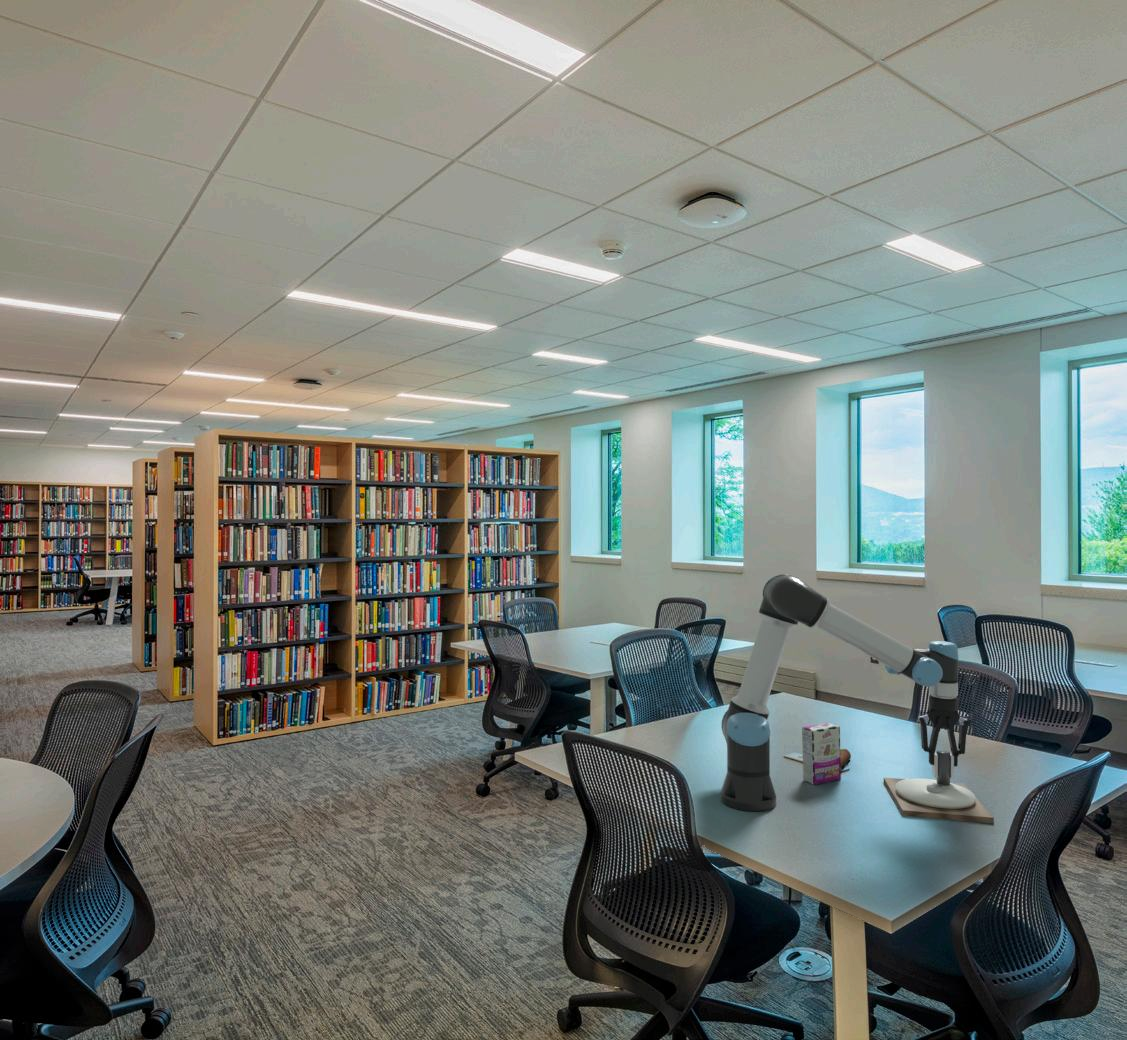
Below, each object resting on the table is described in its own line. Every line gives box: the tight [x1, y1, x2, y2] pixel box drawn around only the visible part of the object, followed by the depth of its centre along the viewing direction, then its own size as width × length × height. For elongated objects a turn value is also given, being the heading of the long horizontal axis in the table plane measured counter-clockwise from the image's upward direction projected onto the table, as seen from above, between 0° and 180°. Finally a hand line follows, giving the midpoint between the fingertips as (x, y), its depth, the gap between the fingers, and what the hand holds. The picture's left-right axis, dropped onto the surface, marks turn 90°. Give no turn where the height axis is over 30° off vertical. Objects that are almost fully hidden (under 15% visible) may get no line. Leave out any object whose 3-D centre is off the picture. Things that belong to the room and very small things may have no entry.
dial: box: [896, 749, 976, 809], centre depth 206 cm, size 20×20×10 cm
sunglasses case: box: [840, 748, 852, 770], centre depth 237 cm, size 18×7×7 cm
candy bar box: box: [801, 722, 842, 786], centre depth 223 cm, size 11×5×16 cm, turn 115°
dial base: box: [883, 777, 995, 824], centre depth 206 cm, size 22×26×2 cm
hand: (943, 776), depth 212 cm, fingers closed on dial, 4 cm apart
